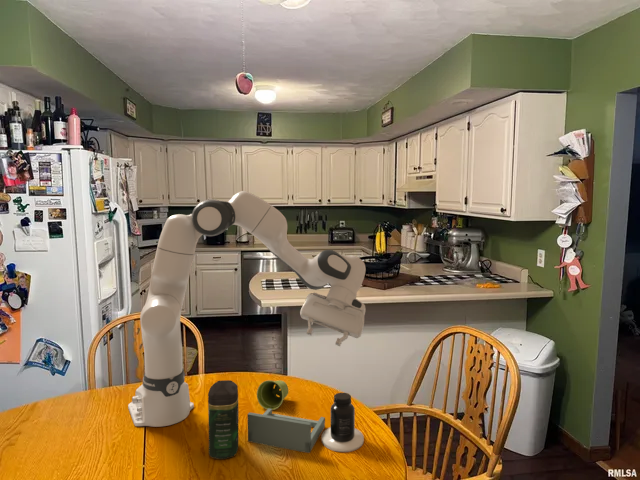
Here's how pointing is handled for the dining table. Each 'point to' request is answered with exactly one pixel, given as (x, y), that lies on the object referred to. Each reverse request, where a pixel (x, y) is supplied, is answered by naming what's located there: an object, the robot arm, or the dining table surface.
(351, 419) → the supplement bottle
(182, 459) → the dining table surface
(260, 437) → the cold frame
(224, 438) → the coffee jar
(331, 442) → the white round glossy part
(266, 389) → the plant pot
